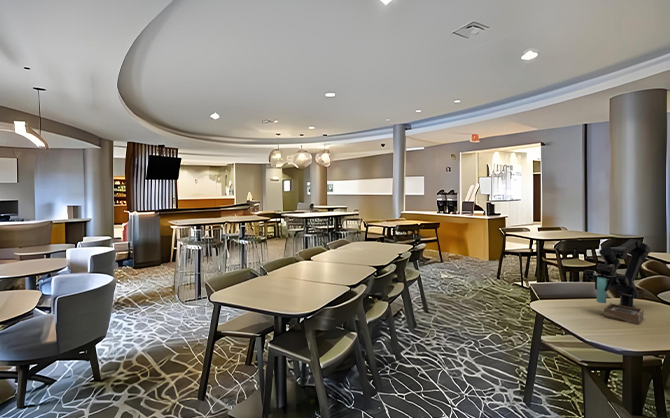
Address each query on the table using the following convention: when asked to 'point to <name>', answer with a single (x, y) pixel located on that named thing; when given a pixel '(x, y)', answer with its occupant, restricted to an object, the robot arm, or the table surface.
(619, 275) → the robot arm
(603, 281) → the peg
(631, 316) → the tray
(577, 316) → the table surface
